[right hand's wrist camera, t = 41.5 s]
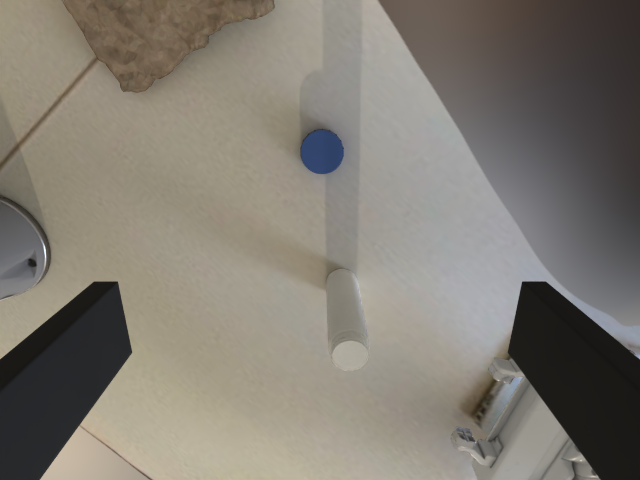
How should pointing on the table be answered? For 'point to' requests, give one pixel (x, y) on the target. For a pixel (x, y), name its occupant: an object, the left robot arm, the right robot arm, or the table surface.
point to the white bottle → (346, 321)
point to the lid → (322, 151)
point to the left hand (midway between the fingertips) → (472, 403)
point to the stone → (154, 32)
